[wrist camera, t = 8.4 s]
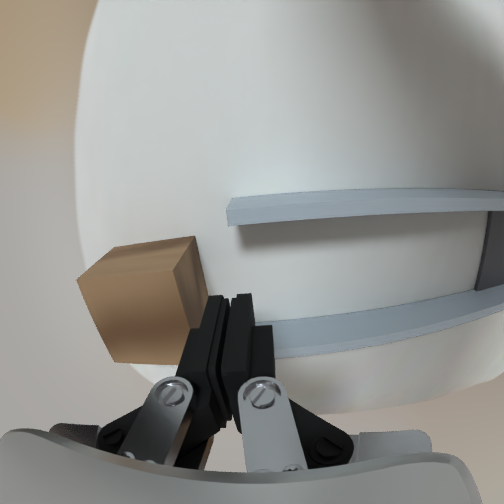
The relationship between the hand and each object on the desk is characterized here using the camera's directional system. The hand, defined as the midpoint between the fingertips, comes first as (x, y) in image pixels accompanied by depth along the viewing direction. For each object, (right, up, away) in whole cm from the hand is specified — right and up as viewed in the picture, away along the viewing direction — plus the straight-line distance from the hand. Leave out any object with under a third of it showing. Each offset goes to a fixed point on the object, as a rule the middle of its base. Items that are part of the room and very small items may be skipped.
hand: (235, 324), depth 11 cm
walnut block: (-5, +1, +7) cm, 9 cm away
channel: (+14, +3, +6) cm, 16 cm away
